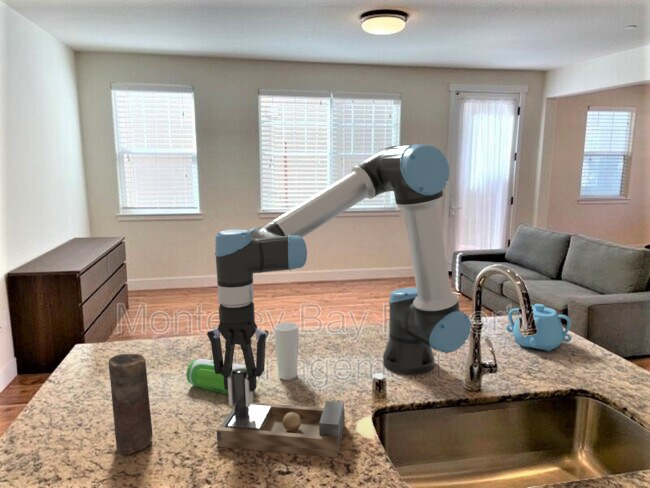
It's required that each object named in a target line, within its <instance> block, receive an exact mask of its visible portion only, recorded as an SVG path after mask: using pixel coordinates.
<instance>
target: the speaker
mask: <svg viewBox="0 0 650 488" xmlns="http://www.w3.org/2000/svg"><path fill="white" fill-rule="evenodd" d="M223 363H224V361H223ZM238 368H244V369H246V365H242V364H238V363H237V364H236V363H233V365H232V369H233V370H235V369H238ZM233 370H232V371H233ZM231 373H232V372H231ZM247 375H248V374H247ZM186 380H187V382H188V383H189V384H191V385H193V386H195V387H198V388H201V389H205V390H207V391H211V392H212V391H213V392H218V393H223V394H228V390H225V388H224V377H223V375H221V374H216V373H215V370H214V362H213V359H206V358H198V359H194V360H193V359H192V361H191V362H190V364H189V365H188V367H187V369H186Z"/></svg>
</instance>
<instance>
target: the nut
mask: <svg viewBox="0 0 650 488" xmlns="http://www.w3.org/2000/svg"><path fill="white" fill-rule="evenodd" d="M300 424H301V419H300V417H299V415H298V414H297V413H294V412H289V413H287V414H286V415H285V416H284V418H283V426H284V428H285V429H286V430H287V431H291V432H292V431H296V430H297V429H298V428H299V427H300Z"/></svg>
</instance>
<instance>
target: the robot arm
mask: <svg viewBox="0 0 650 488" xmlns="http://www.w3.org/2000/svg"><path fill="white" fill-rule="evenodd" d="M350 171H351V172H350V173H349V174H347V175H345V176H344V177H342V178H341V179H339V180H337V181H336V182H334V183H333V184H331V185H329V186H328V187H326V188H324V189H323V190H321V191H319V192H318V193H316V194H314V195H313V196H311V197H309V198H308V199H306V200H305V201H303V202H301V203H299V204H298V205H295V207H293V208H291V209H290V210H288V211H287V212H285V213H282V215H280V216H279V217H277V218H275V219H273V220H272V221H269V222H268V223H266V224H265V225H263V226H259V227H258V226H257V227H253V228H251V229H250V230H248V229H226V230H222V231H219V232H217V234H216V235H215V252H214V256H215V265H216V266H215V267H216V280H217V281H216V283H217V301H218V303H219V304H218V321H219V323H218V326H217V327H212V328H211V329H210V330H209V331H207V333H206V335H207V338H208V339H209V341H210V347H211V354H212V360H213V362H214V370H215V373H216V374H221V375H223V377H224V388H225V390H228V406H231V407H232V406H233V407H234V396H233V377H232V373H231V372H232V370H233V369H232V365H233V364H234V354H235V347H236V346H235V345H238V346H240V349H241V351H242V355H243V359H244V366H246V370H247V374H248V375H247V377H246V378H245V396H246V407H250V405H251V404H252V403H254V392H255V390H256V389H257V377H261V376H262V375H263V374H264V371H265V364H266V363H265V362H266V361H265V360H266V343H267V342H266V340H267V338H268V336H269V331H268V330H267V329H265V330H261V329H259V328H258V325H257V324H256V321H255V317H256V316H255V303H254V302H253V301H254V274H261V273H268V272H269V273H271V272H272V273H273V272H281V271H292V270H297V269H301V268H303V267H304V266H305V265H306V263H307V259H308V250H307V249H308V248H307V244H306V241H305V239H304V237H306V236H307V235H309V234H311V233H312V232H314V231H315V230H317V229H319V228H320V227H322V226H323V225H325V224H326V223H328V222H330V221H332V220H333V219H335V218H336V217H338V216H339V215H341V214H343V212H344V213H345V212H346V211H347V210H348V209H350V208H352V207H354V206H355V205H357V204H358V203H360V202H362V201H364V200H365V199H370V200H371V199H373V198H375V197H377V196H378V195H381V194H383V193H389V192H393V195H394V200H395V205H396V206H398V207H400V209H402V211H403V216H404V222H405V226H406V227H405V228H406V232H407V233H406V234H407V239H408V244H409V252H410V258H411V264H412V269H413V276H414V281H415V287H404V288H403V287H401V288H398V289H397V288H396V289H395V290H393V291H391V292H390V295H389V302H388V305H389V319H388V320H389V326H388V327H389V328H388V329H389V330H388V331H389V332H388V333H389V336H388V341H387V344H386V347H385V350H384V352H383V356H382V358H383V360H382V362H383V367H385V368H386V369H388V370H389V371H391V372H394V373H397V374H400V375H408V376H412V375H413V376H415V375H416V376H417V375H423V374H427V373H429V372H432V370H433V369H434V368H435V356H434V352H433V350H437V351H438V352H441V353H443V354H448V353H454V352H455V351H457V350H459V349H460V348H462V347H463V346H464V345H465V343H466V341H467V340H468V339H469V337H470V335H471V331H470V326H471V327H472V322H471V319H470V317H469V316H468V315H467V314H466V312H464V311H461V309H460V303H459V302H460V301H459V297H458V295H457V294H456V293H455V292H452V289H451V284H450V283H451V282H450V275H449V269H448V268H449V267H448V262H447V255H446V249H445V242H444V235H443V229H442V221H441V215H440V207H439V203H440V202H441V200H442V199H443V197H444V192H443V189H445V187H446V186H447V184H448V183H447V182H448V181H449V180H450V179H449V178H450V165H449V161H448V159H447V157H446V155H445V154H444V153H443V151H441V150H440V149H439V148H437V146H434V145H431V144H424V143H413V144H405V145H404V144H403V145H392V146H387V147H385V148H384V149H381V150H379V151H378V152H376V153H374V154H372V155H370V156H369V157H367V158H366V159H364V160H363V161H361V162H359V163H358V164H356V165H355V166H353V167H352V169H351V170H350ZM254 335H255V340H257V342H256V354H255V355H256V359H255V357H254V352H253V347H252V338H253V336H254ZM220 336H222V337H223V338H224V340H225V343H224V348H225V351H224V357H223V349H222V341H221V337H220ZM432 349H433V350H432ZM255 361H256V362H255ZM223 362H224V363H223Z"/></svg>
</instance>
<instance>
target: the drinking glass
mask: <svg viewBox="0 0 650 488" xmlns="http://www.w3.org/2000/svg"><path fill="white" fill-rule="evenodd" d="M273 329H274V330H273V332H274V334H273V335H274V337H273V338H274V339H273V340H274V346H275V348H274V349H275V356H276V363H277V376H278V378H279V379H281V380H284V381H289V380H290V381H291V380H293V379H295V378H296V377H297V376H298V358H299V357H298V356H299V344H300V343H299V341H300V340H299V337H300V336H299V335H300V334H299V325H298V324H297V323H295V322H291V321H290V322H288V321H287V322H279V323H277V324H275V325H274V328H273Z"/></svg>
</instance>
